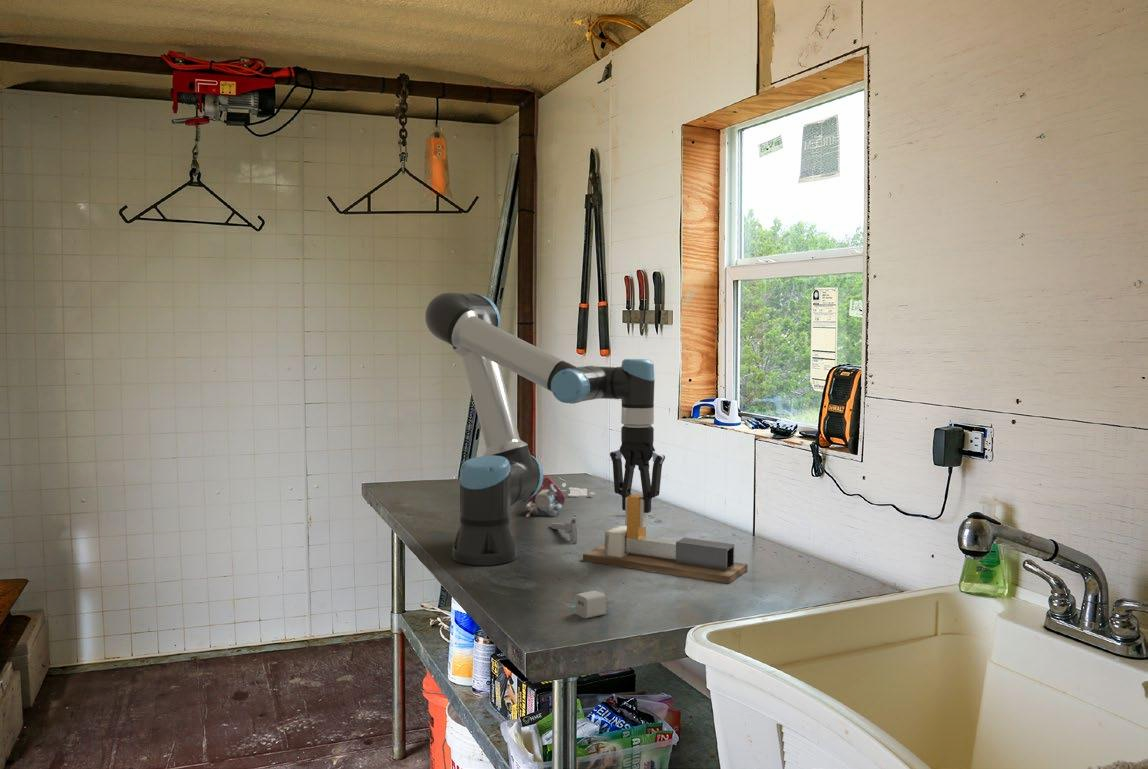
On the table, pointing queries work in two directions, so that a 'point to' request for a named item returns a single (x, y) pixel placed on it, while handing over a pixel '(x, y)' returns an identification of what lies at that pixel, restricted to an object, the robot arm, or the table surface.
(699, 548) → the outer sleeve
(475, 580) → the table surface
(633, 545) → the stacked block assembly
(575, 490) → the miniature set
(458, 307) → the robot arm
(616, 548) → the socket block
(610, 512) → the table surface
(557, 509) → the brake caliper
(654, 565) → the base board
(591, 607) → the usb wall charger
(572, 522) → the caliper
